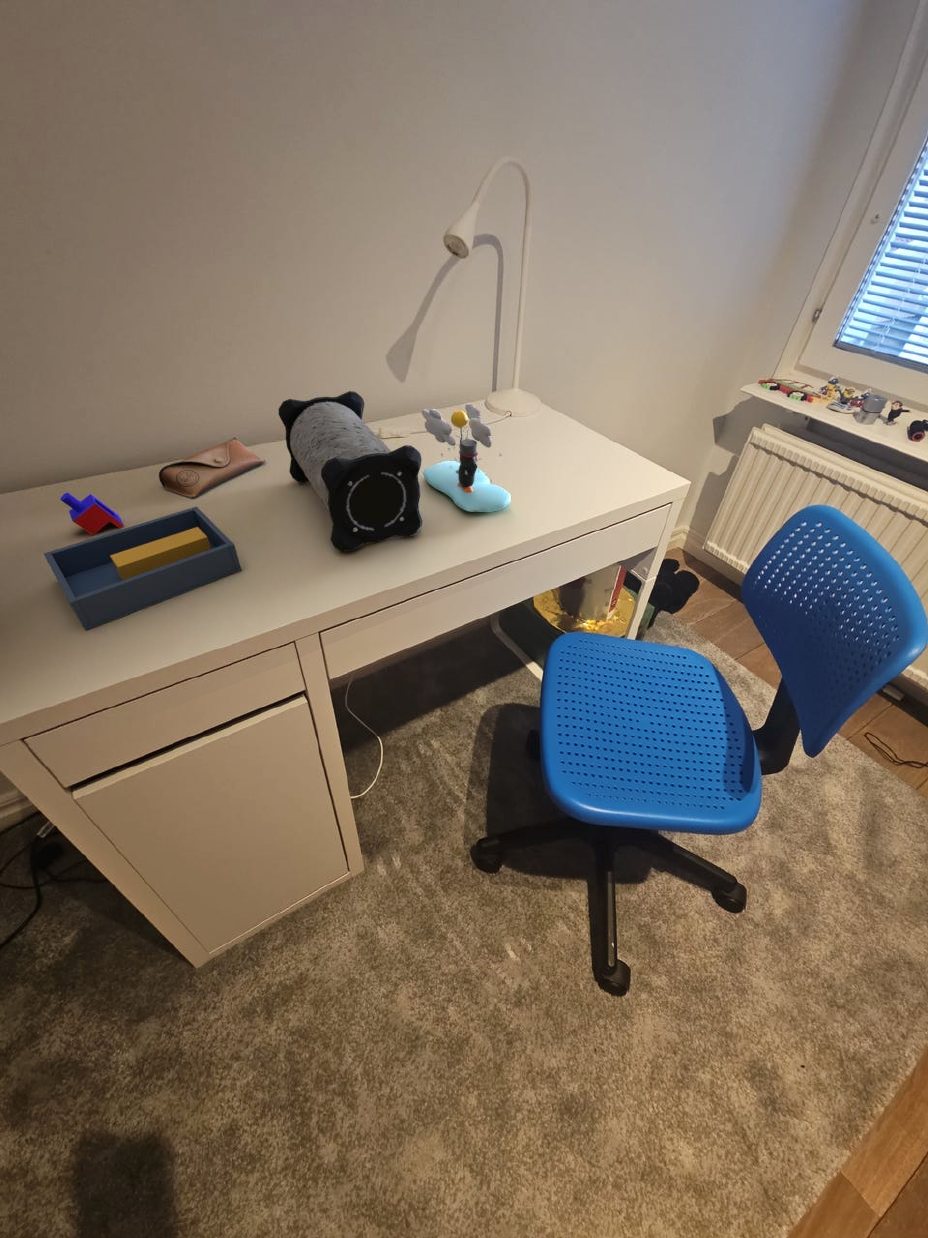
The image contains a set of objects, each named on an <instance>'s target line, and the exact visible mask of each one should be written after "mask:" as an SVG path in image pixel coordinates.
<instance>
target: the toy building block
mask: <svg viewBox="0 0 928 1238" xmlns="http://www.w3.org/2000/svg"><path fill="white" fill-rule="evenodd" d="M59 500H60V501H61V502H62V503H64V504H65V505H67V506H68V507H69V508H70V510H69V511H68V513H69V515H70V518H71V521H72V522H73V523H74V524H76V525H77V526H79V527H80V529H83V530H84V531H86V532H87V533H88V534H90V535H91V536H94V535H95V534H97V533H98V532H99V531H100V530H102V529H103V528H104V527H105V526H107V525H108V524H109V523H112V524H113V525H114V526H116V527H117V528H118V529H121V528H122V527H123V526H124V522H123V521H122V518H121V516H120V515H119V514H118V513H116V512H115V511H114V510H113V509H112V508H110V507H109V506H108V505H106V504H104V503H103V502H102V501H101V500H100V499H98V498H97V497H95V496H94V495H93V494H92V493H89V494H88V495H87V496H86V497H84V498H83V499H82V500H79V499H77V498H76V497H75V496H73V494H71V493H70V492H65V493H64V494H62V496H61V497H60V498H59Z"/></svg>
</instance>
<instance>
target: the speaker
mask: <svg viewBox="0 0 928 1238" xmlns="http://www.w3.org/2000/svg"><path fill="white" fill-rule="evenodd" d="M364 408H365V401H364V398H363V397H362V396H361V394H359V393H358V392H356V391H352V390H349V391H347V392H344V393H342V394H339V395H337V396H317V397H314V398H311V399H309V400H300V399H293V398H288V399H286V400H283V401H282V402H281V404H280V406H279V408H278V416H279V418H280V420H281V422H282V424H283V426H284V429H285V443H286V448H287V451H288V453H289V456H290V464H289V474H290V476H291V478H292V479H293V480H294V481H296V483H297V482H298V483H303V484H304V483H308V482H310V484H311V487H312V488H313V489H314V490H315V492H316V493H317V495H318V497H319V498H320V500H321V501H322V503H323V504H324V506H325V507H326V508H327V511H328V513H329V517H330V519H331V521H332V527H331V528H332V529H331V535H330V542H331V544H332V546H333V548H334V549H336V550H338V551H340V552H351V551H354V550H356V549H357V548H359V547H361V546H362V545H366V544H376V543H379V542H380V543H381V542H384V541H387V540H388V539H391V538H394V537H408V538H409V537H411V536H413V535H416V534H417V533H418V532H419V531H420V530H421V528H422V526H423V521H424V520H423V518H422V514H421V511H420V510H419V509H420V506H419V505H420V501H421V500H420V499H421V486H420V482H419V474H420V470H421V466H422V454H421V452H420V451H419V450H418V449H416V447H414V446H413V445H407V444H404V445H401V446H400V447H398V448H396V449H394V450H391V449H390V448H389V446H387V445H386V444H385V442H384V441H383V440H382V439H381V438H379V436H378V435H376V434H375V432H374V431H372V430H371V428H370V427H369V426H368V425H367V424H366V423H365V422H364V420H363V414H364Z"/></svg>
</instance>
